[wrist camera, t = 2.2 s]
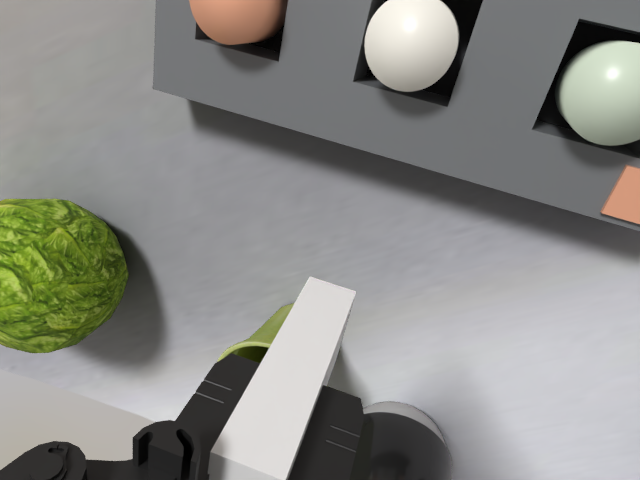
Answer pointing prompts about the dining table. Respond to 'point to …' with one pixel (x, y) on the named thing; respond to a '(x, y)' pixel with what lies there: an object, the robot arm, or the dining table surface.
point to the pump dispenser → (400, 445)
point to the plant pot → (260, 338)
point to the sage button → (602, 92)
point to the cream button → (411, 43)
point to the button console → (420, 96)
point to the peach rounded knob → (239, 19)
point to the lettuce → (55, 274)
